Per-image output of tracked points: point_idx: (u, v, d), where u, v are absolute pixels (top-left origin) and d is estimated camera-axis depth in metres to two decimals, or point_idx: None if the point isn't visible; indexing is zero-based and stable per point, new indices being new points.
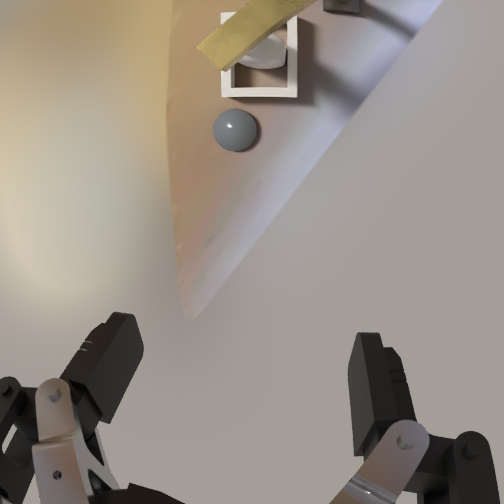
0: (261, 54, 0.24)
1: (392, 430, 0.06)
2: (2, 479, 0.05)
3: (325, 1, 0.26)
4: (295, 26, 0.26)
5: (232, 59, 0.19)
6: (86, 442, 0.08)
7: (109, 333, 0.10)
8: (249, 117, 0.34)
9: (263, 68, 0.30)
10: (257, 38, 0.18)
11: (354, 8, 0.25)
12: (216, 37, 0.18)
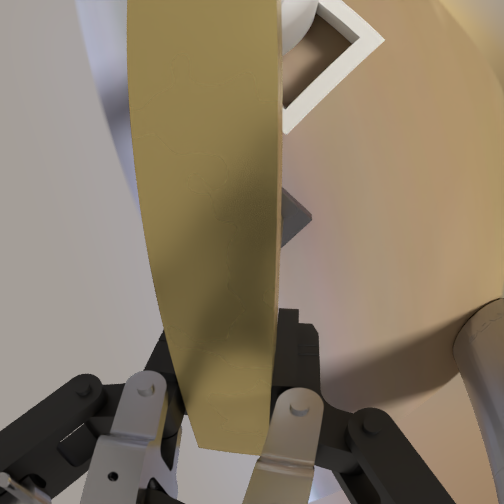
0: None
1: (280, 402, 0.07)
2: (45, 471, 0.06)
3: None
4: None
5: None
6: (163, 440, 0.08)
7: None
8: None
9: None
10: None
11: None
12: None
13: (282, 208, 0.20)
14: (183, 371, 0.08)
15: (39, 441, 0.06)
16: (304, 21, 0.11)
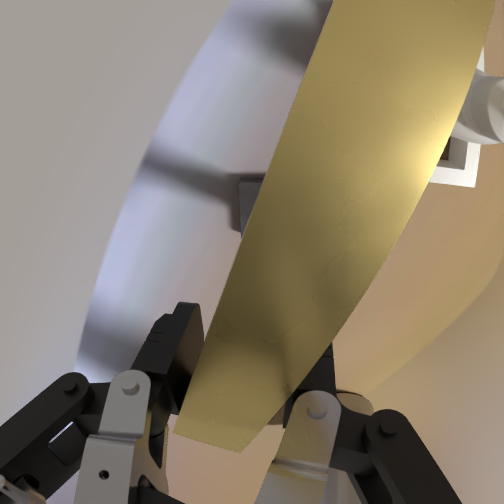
0: None
1: (298, 404, 0.07)
2: (38, 471, 0.06)
3: None
4: None
5: None
6: (151, 438, 0.08)
7: (180, 322, 0.10)
8: None
9: None
10: None
11: (247, 189, 0.20)
12: None
13: None
14: (208, 361, 0.07)
15: (30, 440, 0.06)
16: None
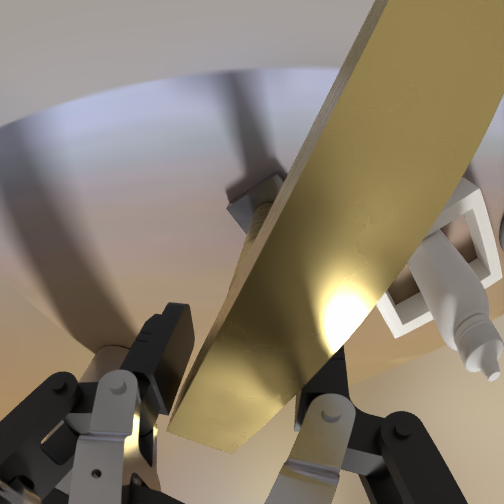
0: (482, 308, 0.13)
1: (313, 406, 0.07)
2: (32, 471, 0.05)
3: None
4: None
5: None
6: (140, 438, 0.08)
7: (169, 323, 0.10)
8: None
9: None
10: None
11: (277, 186, 0.19)
12: None
13: None
14: (212, 365, 0.07)
15: (23, 440, 0.05)
16: None
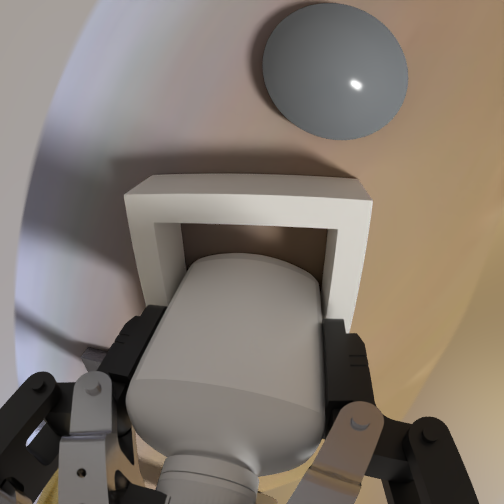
0: (175, 438, 0.06)
1: (343, 413, 0.07)
2: (20, 473, 0.05)
3: None
4: None
5: None
6: (120, 438, 0.08)
7: (146, 325, 0.10)
8: (285, 109, 0.10)
9: (239, 265, 0.12)
10: None
11: (90, 363, 0.17)
12: None
13: None
14: None
15: (9, 441, 0.05)
16: None
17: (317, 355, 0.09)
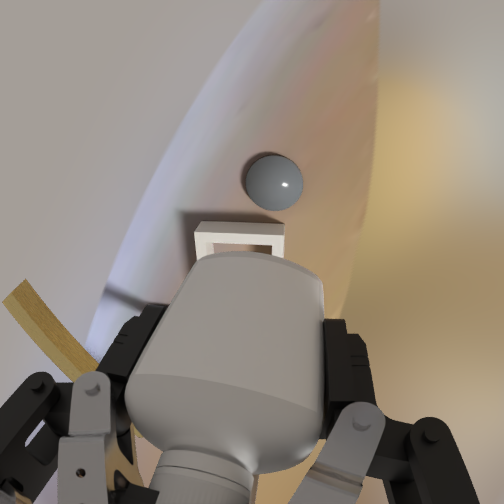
0: (171, 433, 0.07)
1: (344, 413, 0.07)
2: (20, 473, 0.05)
3: None
4: None
5: None
6: (119, 438, 0.08)
7: (145, 325, 0.10)
8: (254, 199, 0.28)
9: (242, 264, 0.12)
10: None
11: None
12: (20, 309, 0.19)
13: None
14: None
15: (8, 441, 0.05)
16: None
17: (317, 354, 0.09)
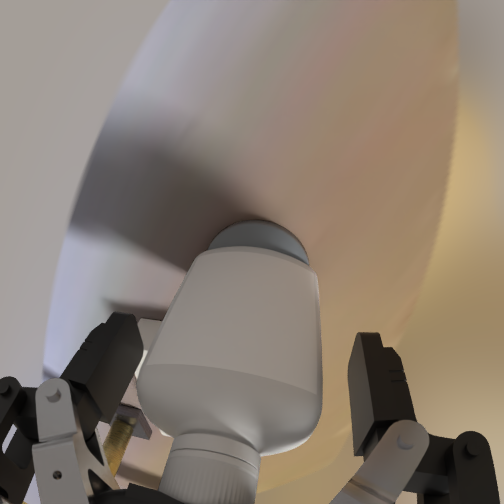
0: (183, 418, 0.07)
1: (392, 430, 0.06)
2: (2, 479, 0.05)
3: (138, 423, 0.23)
4: None
5: None
6: (86, 442, 0.08)
7: (109, 333, 0.10)
8: None
9: (241, 258, 0.13)
10: None
11: None
12: None
13: (136, 428, 0.24)
14: None
15: None
16: None
17: (314, 342, 0.10)
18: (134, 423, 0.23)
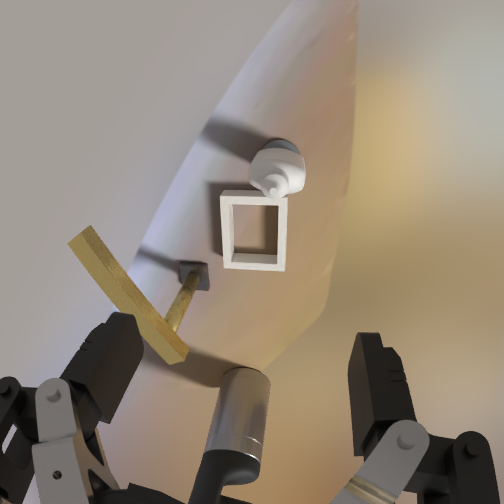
0: (267, 169, 0.29)
1: (392, 429, 0.06)
2: (2, 479, 0.05)
3: (205, 273, 0.45)
4: (224, 255, 0.41)
5: None
6: (86, 442, 0.08)
7: (109, 333, 0.10)
8: None
9: (276, 149, 0.35)
10: None
11: (183, 268, 0.45)
12: (86, 247, 0.28)
13: (201, 279, 0.46)
14: (145, 337, 0.33)
15: None
16: None
17: (302, 164, 0.32)
18: (202, 274, 0.45)
